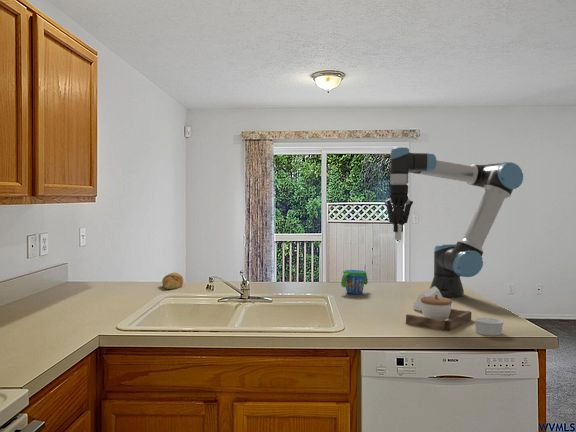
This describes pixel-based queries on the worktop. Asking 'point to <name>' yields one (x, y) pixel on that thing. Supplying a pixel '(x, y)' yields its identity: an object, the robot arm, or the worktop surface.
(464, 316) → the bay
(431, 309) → the lidded jar
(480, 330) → the ramekin
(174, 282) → the bread loaf
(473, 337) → the worktop surface
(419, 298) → the white rounded prism
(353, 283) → the snack cup
